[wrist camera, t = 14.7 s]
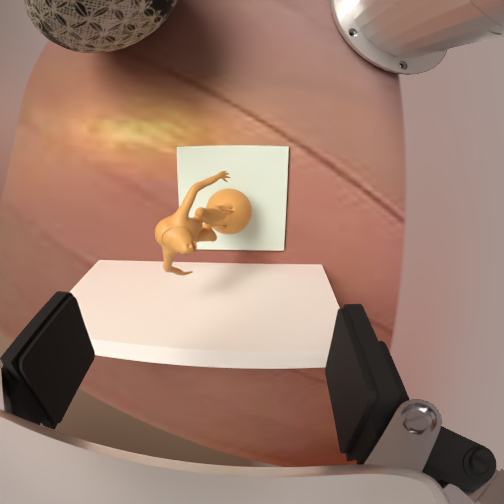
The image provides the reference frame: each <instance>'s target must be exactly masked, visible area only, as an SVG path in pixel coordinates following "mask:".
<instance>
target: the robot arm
mask: <svg viewBox="0 0 504 504" xmlns="http://www.w3.org/2000/svg"><path fill="white" fill-rule="evenodd" d="M331 11H332V15H333V19H334V21H335V24H336V26H337V28H338V30H339V32H340V33H341V35H342V36H343V38H344V39H345V41H346V42H347V43H348V44H349V45H350V46H351V47H352V48H353V50H354V51H356V52H357V53H358V54H359V55H360V56H362V57H363V58H364V59H365V60H367V61H369V62H370V63H372V64H373V65H375V66H377V67H379V68H381V69H384V70H386V71H389V72H393V73H397V74H407V75H409V74H418V73H422V72H426V71H428V70H430V69H432V68H434V67H435V66H436V65H437V64H439V63H440V62H441V61H442V59H443V58H444V56H445V54H446V52H447V49H449V48H453V47H457V46H461V45H465V44H470V43H474V42H479V41H483V40H488V39H494V38H499V37H504V0H331ZM349 33H352V35H353V36H351V35H349ZM399 64H400V65H401V67H400V65H399ZM94 357H95V352H94V348H93V346H92V343H91V340H90V338H89V335H88V332H87V329H86V326H85V323H84V320H83V317H82V314H81V311H80V308H79V305H78V301H77V299H76V298H75V297H74V296H73V294H72V293H70V292H61V291H59V292H56V293H55V294H54V295H53V297H52V298H51V299H50V300H49V301H48V302H47V303H46V304H45V305H44V306H43V308H42V309H41V310H40V311H39V312H38V313H37V314H36V315H35V317H34V318H33V319H32V320H31V321H30V322H29V324H28V325H27V326H26V327H25V328H24V330H23V331H22V332H21V333H20V334H19V336H18V337H17V338H16V339H15V340H14V342H13V343H12V344H11V345H10V347H9V348H8V349H7V350H6V352H5V353H4V354H3V355H2V357H1V358H0V359H1V361H2V363H3V367H2V368H1V366H0V504H504V470H503V469H501V470H500V471H498V470H497V469H496V459H495V457H494V455H493V453H492V452H491V451H490V450H489V449H488V448H486V447H484V446H482V445H480V444H478V443H476V442H474V441H472V440H469V439H467V438H465V437H463V436H461V435H459V434H457V433H454V432H452V431H450V430H448V429H446V428H444V427H442V426H441V424H442V419H441V414H440V413H439V411H438V409H437V408H436V407H435V406H434V405H433V404H431V403H429V402H427V401H424V400H420V399H412V400H409V397H408V395H407V392H406V390H405V387H404V385H403V383H402V380H401V378H400V376H399V373H398V371H397V369H396V367H395V364H394V362H393V359H392V357H391V355H390V353H389V350H388V348H387V346H386V344H385V343H384V342H383V341H378V339H377V337H376V335H375V333H374V330H373V328H372V326H371V324H370V321H369V319H368V317H367V315H366V313H365V310H364V308H363V306H362V305H361V304H345V305H344V306H343V309H338V312H337V316H336V321H335V326H334V331H333V336H332V340H331V345H330V349H329V354H328V358H327V362H326V369H325V372H326V379H327V384H328V389H329V394H330V399H331V404H332V409H333V414H334V420H335V425H336V430H337V436H338V442H339V447H340V451H341V453H346V457H347V461H352V460H357V465H336V466H315V467H237V466H222V465H210V464H199V463H191V462H183V461H176V460H169V459H163V458H157V457H151V456H146V455H140V454H136V453H131V452H127V451H122V450H118V449H113V448H110V447H106V446H102V445H98V444H95V443H91V442H88V441H84V440H81V439H78V438H75V437H71V436H68V435H65V434H62V433H59V432H56V431H54V430H51V429H55V428H56V426H57V423H60V422H61V421H62V419H63V417H64V415H65V413H66V411H67V409H68V407H69V405H70V403H71V401H72V399H73V397H74V395H75V393H76V391H77V389H78V388H79V386H80V384H81V382H82V380H83V378H84V376H85V375H86V373H87V371H88V369H89V367H90V365H91V364H92V362H93V360H94ZM40 423H42V424H43V425H44V426H46V427H49V428H51V429H48V428H45V427H43V426H40Z"/></svg>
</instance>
